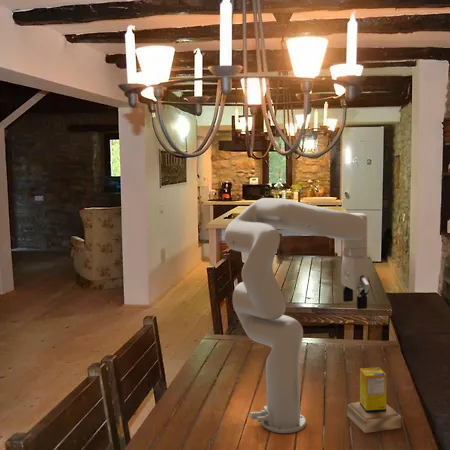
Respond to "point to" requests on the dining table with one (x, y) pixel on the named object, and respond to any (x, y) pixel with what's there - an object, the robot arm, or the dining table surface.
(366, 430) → the pedestal
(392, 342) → the dining table surface
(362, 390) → the supplement box
